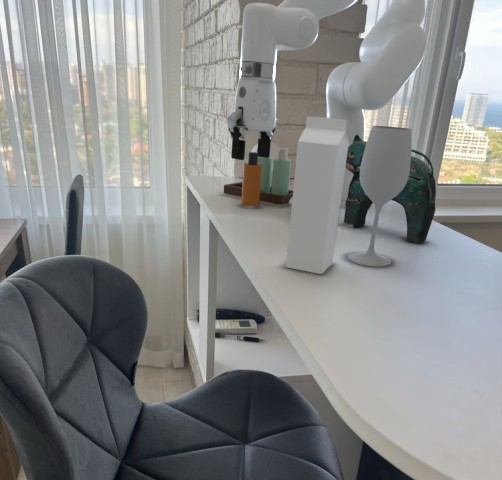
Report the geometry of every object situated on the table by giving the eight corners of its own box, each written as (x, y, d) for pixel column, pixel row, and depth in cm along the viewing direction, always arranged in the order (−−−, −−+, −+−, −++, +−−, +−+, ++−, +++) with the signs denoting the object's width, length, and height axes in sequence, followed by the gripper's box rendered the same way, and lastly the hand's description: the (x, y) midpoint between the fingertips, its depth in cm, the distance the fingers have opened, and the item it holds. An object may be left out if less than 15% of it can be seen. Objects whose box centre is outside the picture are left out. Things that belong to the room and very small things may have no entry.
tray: (299, 202, 126) (300, 191, 125) (280, 207, 120) (281, 196, 119) (243, 191, 135) (244, 181, 134) (223, 195, 129) (223, 184, 128)
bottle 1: (271, 195, 129) (275, 146, 124) (267, 198, 125) (270, 147, 120) (255, 194, 130) (258, 144, 124) (250, 196, 126) (254, 146, 121)
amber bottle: (261, 205, 120) (264, 152, 115) (256, 209, 117) (259, 154, 111) (244, 203, 121) (247, 150, 116) (239, 206, 118) (241, 152, 112)
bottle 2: (289, 199, 126) (293, 148, 121) (285, 202, 122) (290, 150, 117) (272, 197, 127) (276, 147, 122) (268, 200, 123) (272, 148, 118)
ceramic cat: (333, 223, 108) (347, 123, 99) (350, 220, 113) (365, 123, 104) (417, 246, 96) (441, 133, 87) (433, 241, 100) (457, 133, 92)
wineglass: (338, 254, 88) (357, 124, 79) (375, 252, 91) (397, 126, 81) (362, 268, 82) (384, 129, 73) (401, 265, 84) (428, 131, 75)
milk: (297, 258, 85) (312, 115, 75) (332, 264, 83) (352, 119, 73) (285, 267, 80) (299, 116, 70) (322, 275, 78) (341, 119, 68)
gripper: (247, 70, 98) (240, 162, 106) (293, 77, 111) (285, 158, 119) (217, 68, 102) (213, 157, 109) (265, 75, 115) (259, 154, 122)
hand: (250, 158), depth 114 cm, fingers open, 9 cm apart
